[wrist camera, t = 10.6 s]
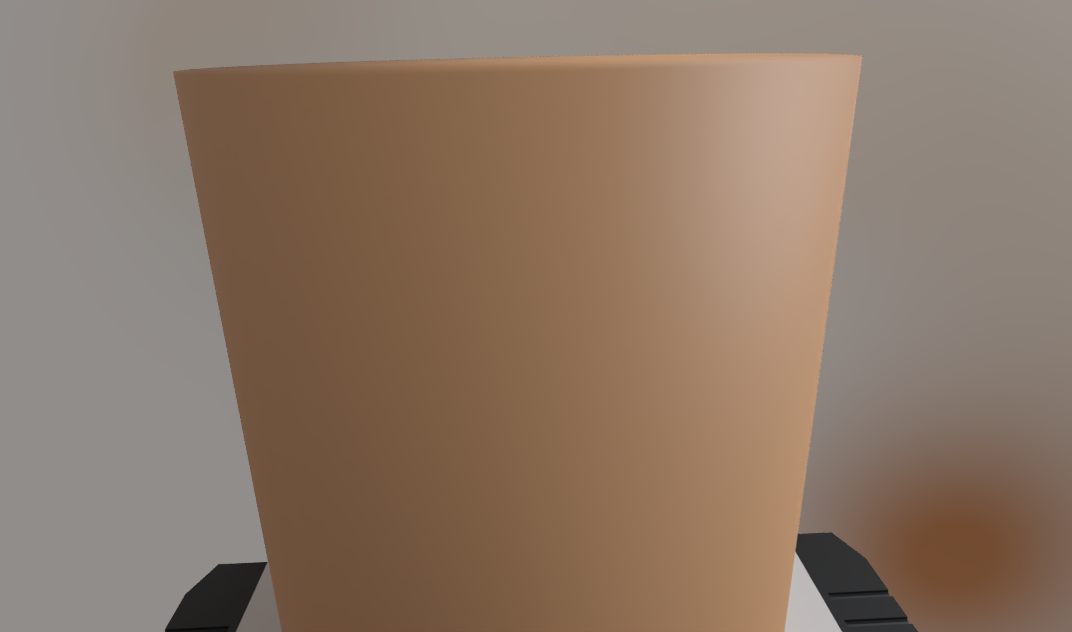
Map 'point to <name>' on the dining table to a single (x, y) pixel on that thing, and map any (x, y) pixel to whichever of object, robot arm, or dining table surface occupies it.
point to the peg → (526, 330)
